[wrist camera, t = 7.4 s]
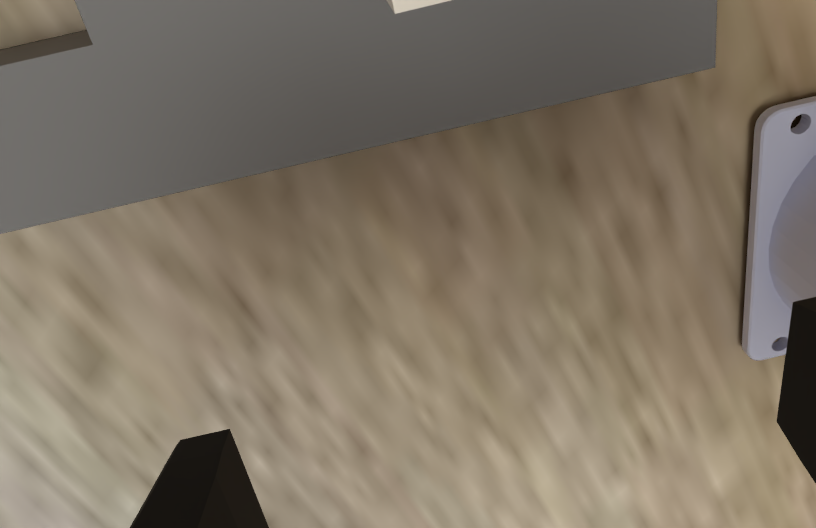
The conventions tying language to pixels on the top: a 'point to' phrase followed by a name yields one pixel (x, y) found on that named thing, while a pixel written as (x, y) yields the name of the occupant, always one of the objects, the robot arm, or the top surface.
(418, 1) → the plug
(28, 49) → the socket plate
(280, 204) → the top surface
